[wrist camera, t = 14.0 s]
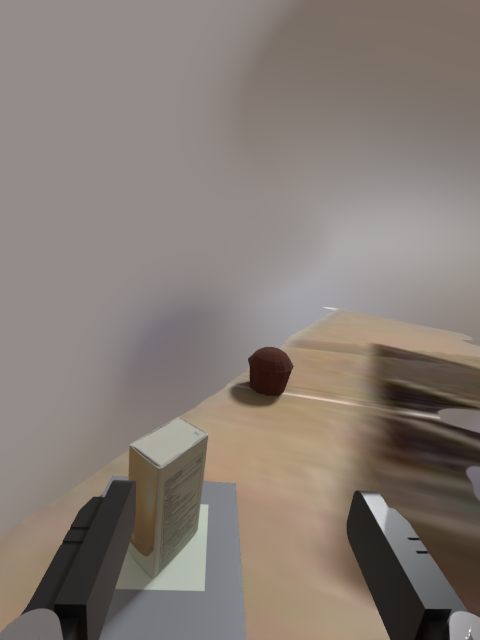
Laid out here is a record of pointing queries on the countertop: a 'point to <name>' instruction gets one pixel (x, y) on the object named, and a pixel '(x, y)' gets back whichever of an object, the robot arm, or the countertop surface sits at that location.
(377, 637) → the countertop surface
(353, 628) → the countertop surface
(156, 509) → the skincare box
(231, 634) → the plate
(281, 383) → the muffin
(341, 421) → the countertop surface
